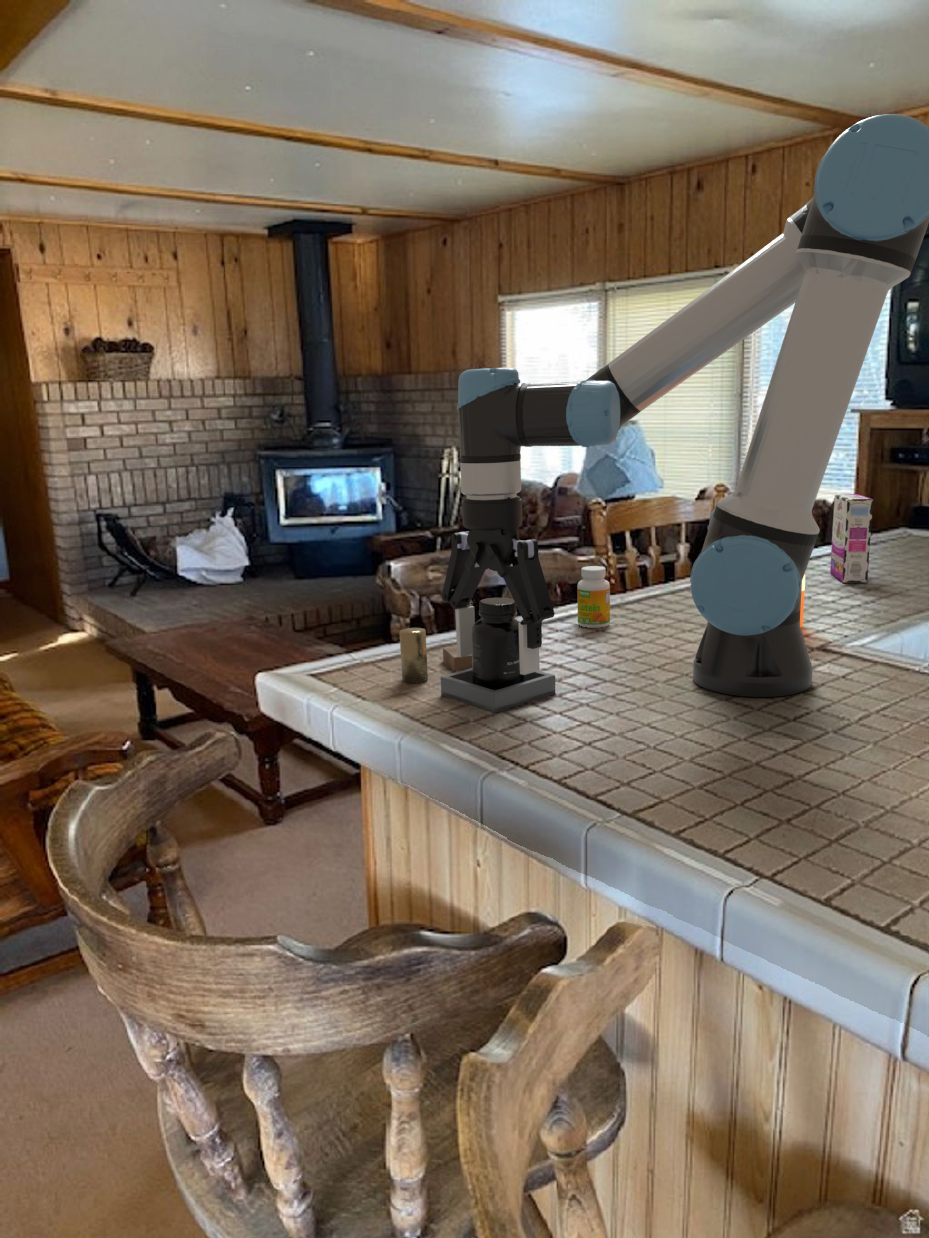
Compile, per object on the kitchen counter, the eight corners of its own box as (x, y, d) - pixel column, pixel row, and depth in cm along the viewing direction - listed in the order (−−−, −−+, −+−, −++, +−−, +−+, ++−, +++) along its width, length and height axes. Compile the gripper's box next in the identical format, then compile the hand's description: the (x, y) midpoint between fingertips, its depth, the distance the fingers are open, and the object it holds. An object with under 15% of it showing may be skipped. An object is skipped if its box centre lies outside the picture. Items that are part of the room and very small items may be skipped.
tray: (555, 693, 124) (555, 675, 123) (495, 712, 117) (494, 693, 117) (500, 677, 132) (500, 660, 131) (441, 694, 125) (440, 676, 124)
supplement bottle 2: (573, 627, 158) (573, 570, 156) (582, 620, 163) (581, 564, 161) (605, 629, 156) (605, 571, 154) (613, 622, 161) (613, 565, 159)
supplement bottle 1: (521, 699, 120) (519, 607, 117) (468, 697, 122) (465, 606, 119) (528, 683, 127) (527, 595, 124) (477, 681, 128) (475, 594, 125)
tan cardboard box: (513, 667, 138) (513, 650, 138) (454, 674, 136) (454, 657, 135) (500, 656, 144) (499, 641, 143) (443, 663, 141) (442, 647, 141)
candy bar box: (869, 583, 184) (874, 498, 180) (842, 584, 184) (846, 499, 181) (854, 573, 194) (859, 492, 191) (829, 573, 195) (833, 493, 191)
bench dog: (433, 679, 132) (430, 630, 131) (412, 684, 130) (409, 635, 128) (417, 674, 135) (414, 626, 133) (397, 679, 133) (394, 631, 131)
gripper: (582, 498, 112) (584, 674, 117) (453, 488, 130) (460, 642, 135) (537, 504, 107) (541, 688, 112) (410, 493, 125) (418, 652, 130)
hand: (497, 663), depth 123 cm, fingers open, 11 cm apart
